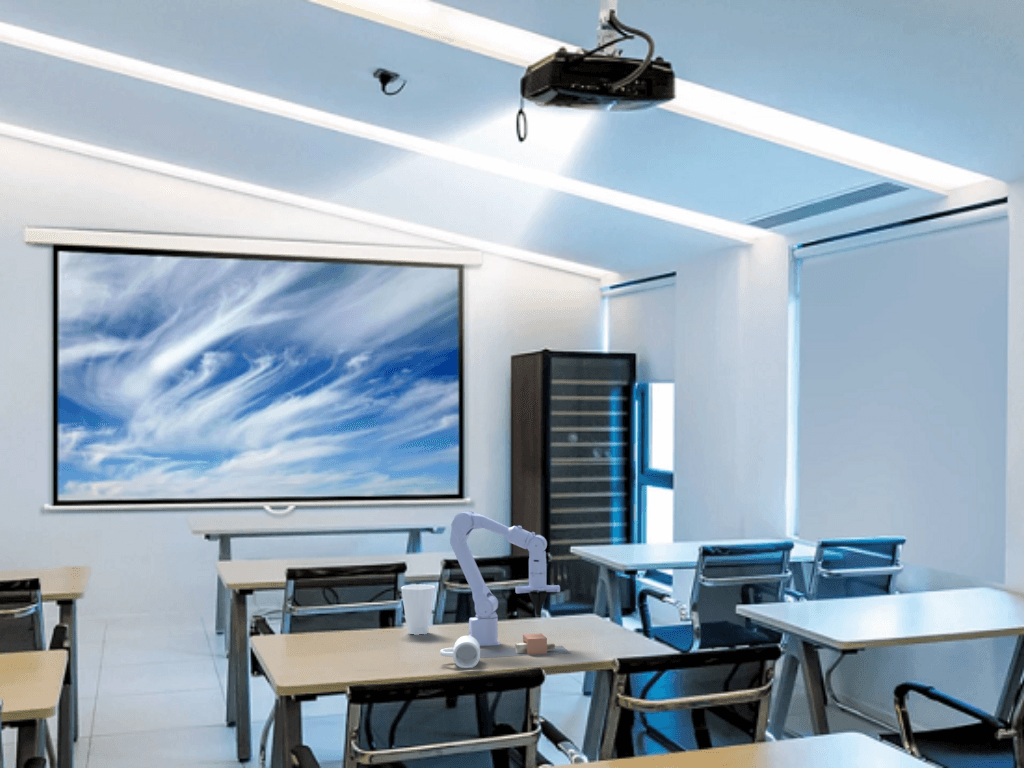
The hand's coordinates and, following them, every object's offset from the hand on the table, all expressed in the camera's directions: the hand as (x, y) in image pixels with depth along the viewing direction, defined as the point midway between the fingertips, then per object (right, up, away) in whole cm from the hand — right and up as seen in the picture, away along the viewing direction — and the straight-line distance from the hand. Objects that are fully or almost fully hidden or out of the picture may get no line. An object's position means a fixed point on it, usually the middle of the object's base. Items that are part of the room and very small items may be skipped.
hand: (538, 614), depth 343 cm
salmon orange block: (-1, -9, -12) cm, 15 cm away
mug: (-24, -9, -28) cm, 38 cm away
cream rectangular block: (-1, -9, -12) cm, 15 cm away
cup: (-41, -12, +22) cm, 48 cm away
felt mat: (-7, -9, -12) cm, 17 cm away
